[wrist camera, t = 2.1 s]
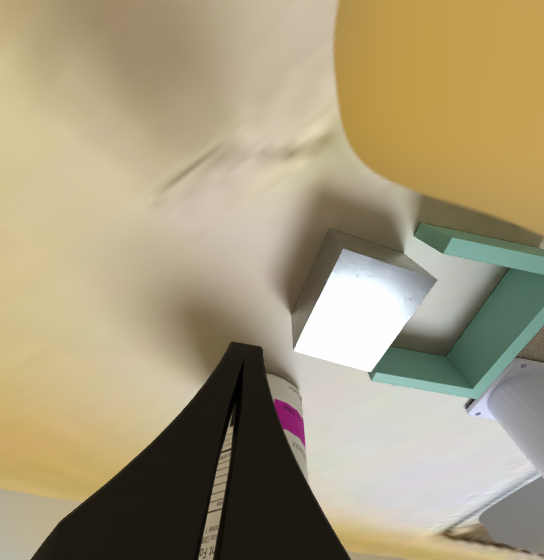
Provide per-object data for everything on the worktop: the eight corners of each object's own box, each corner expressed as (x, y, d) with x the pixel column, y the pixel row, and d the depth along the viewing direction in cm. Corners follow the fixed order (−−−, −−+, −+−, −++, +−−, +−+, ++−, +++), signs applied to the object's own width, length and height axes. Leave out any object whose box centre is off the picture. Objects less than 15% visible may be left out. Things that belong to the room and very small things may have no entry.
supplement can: (312, 378, 24) (349, 651, 11) (287, 426, 28) (292, 673, 15) (233, 360, 23) (168, 629, 10) (218, 411, 27) (157, 658, 14)
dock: (538, 247, 17) (595, 268, 14) (450, 366, 23) (477, 399, 20) (420, 222, 17) (452, 237, 14) (358, 349, 22) (371, 381, 19)
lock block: (403, 252, 18) (437, 280, 14) (353, 332, 22) (370, 371, 18) (329, 227, 17) (343, 248, 13) (291, 313, 21) (293, 350, 17)
